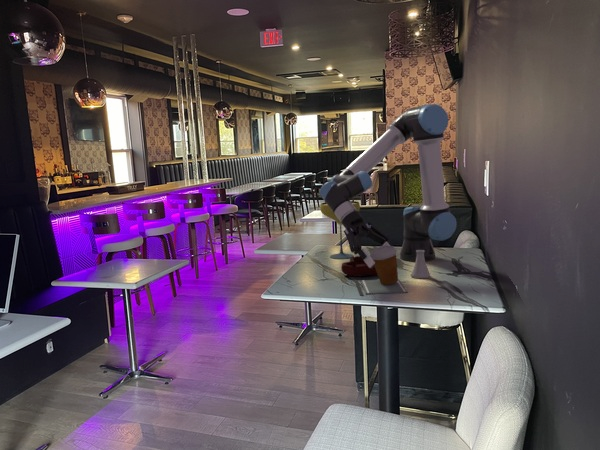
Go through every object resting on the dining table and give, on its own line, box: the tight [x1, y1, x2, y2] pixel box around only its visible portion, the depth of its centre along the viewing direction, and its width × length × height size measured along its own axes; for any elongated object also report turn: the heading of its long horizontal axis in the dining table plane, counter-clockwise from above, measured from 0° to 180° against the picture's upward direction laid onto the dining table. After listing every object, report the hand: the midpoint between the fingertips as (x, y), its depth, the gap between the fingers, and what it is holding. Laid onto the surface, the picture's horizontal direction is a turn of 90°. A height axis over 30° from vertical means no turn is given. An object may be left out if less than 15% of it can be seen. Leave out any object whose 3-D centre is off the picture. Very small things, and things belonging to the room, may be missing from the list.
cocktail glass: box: [319, 200, 361, 260], centre depth 212 cm, size 18×18×25 cm
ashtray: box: [340, 255, 378, 278], centre depth 182 cm, size 18×16×5 cm
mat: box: [360, 278, 409, 295], centre depth 162 cm, size 14×16×1 cm
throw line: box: [354, 279, 364, 297], centre depth 162 cm, size 1×19×1 cm, turn 179°
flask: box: [410, 250, 431, 279], centre depth 173 cm, size 7×7×10 cm
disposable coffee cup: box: [369, 245, 399, 285], centre depth 164 cm, size 10×10×12 cm
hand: (384, 261), depth 161 cm, fingers open, 13 cm apart
